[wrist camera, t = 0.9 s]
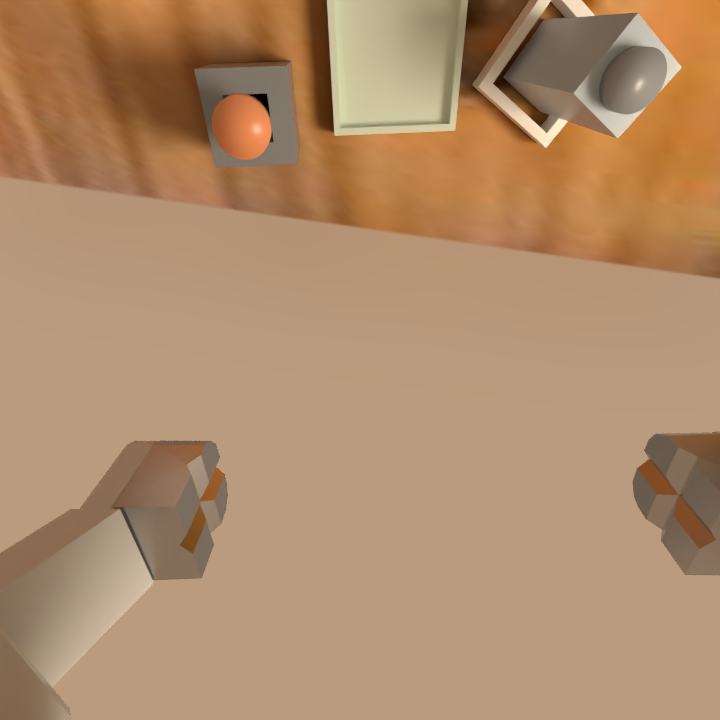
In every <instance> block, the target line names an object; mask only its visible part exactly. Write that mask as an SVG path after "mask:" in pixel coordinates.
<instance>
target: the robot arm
mask: <svg viewBox="0 0 720 720" xmlns="http://www.w3.org/2000/svg"><path fill="white" fill-rule="evenodd" d="M644 451H645V452H646V454H647V456H648V458H649V460H647V461H646V462H645V463H643V464H642V465H641V466H639V467H638V468H637V470H636V473H635V476H634V479H633V491H634V497H635V500H636V502H637V505H638V507H639V509H640V510H641V512H642V513H643V515H644V516H645V518H646V519H647V520H648V521H650V522H652V523H653V524H655V525H656V526H658V527H659V528H661V529H662V536H661V541H662V542H663V544H664V545H665V547H666V548H667V549H668V551H669V552H670V554H671V555H672V557H673V558H674V560H675V561H676V562H677V564H678V565H679V567H680V568H681V570H682V571H683V572H684V574H685V575H720V432H712V433H709V432H705V433H666V434H664V433H663V434H655V435H654V436H653V437H651V438H650V439H649V441H648V443H647V445H646V448H645V450H644ZM219 458H220V456H219V453H218V449H217V446H216V444H215V443H213V442H212V441H134V442H132V443H130V444H128V445H127V446H126V447H125V448H124V449H123V451H122V452H121V454H120V455H119V456H118V457H117V459H116V460H115V462H114V463H113V464H112V466H111V467H110V468H109V470H108V471H107V472H106V474H105V475H104V476H103V478H102V479H101V481H100V482H99V483H98V485H97V486H96V487H95V489H94V490H93V491H92V493H91V494H90V496H89V497H88V498H87V500H86V501H85V502H84V504H83V505H82V506H81V508H80V509H70V510H69V511H67V512H66V513H64V514H62V515H61V516H59V517H58V518H56V519H54V520H53V521H51V522H49V523H48V524H46V525H45V526H43V527H41V528H40V529H38V530H37V531H35V532H34V533H32V534H30V535H29V536H27V537H25V538H24V539H22V540H21V541H19V542H17V543H16V544H14V545H13V546H11V547H9V548H8V549H6V550H5V551H3V552H1V553H0V720H71V718H72V717H71V713H70V709H69V707H68V706H67V704H66V703H65V702H64V701H63V700H62V699H61V697H60V696H59V695H58V694H57V693H56V691H55V690H54V689H53V688H52V687H53V686H54V685H55V683H57V682H58V680H60V679H61V677H63V675H64V674H65V673H66V672H67V671H68V670H69V669H70V668H71V667H72V666H73V665H74V664H75V663H76V662H77V661H78V660H79V659H80V658H81V657H82V656H83V655H84V654H85V653H86V652H87V651H88V650H89V649H90V648H91V647H92V646H93V645H94V644H95V643H96V642H97V641H98V639H100V638H101V636H102V635H103V634H104V633H105V632H106V631H107V630H108V629H109V628H110V627H111V626H112V625H113V624H114V623H115V622H116V621H117V620H118V619H119V618H120V617H121V616H122V615H123V614H124V613H125V612H126V611H127V610H128V609H129V608H130V607H131V606H132V605H133V604H134V602H136V601H137V600H138V598H139V597H141V595H142V594H143V593H144V592H145V591H146V590H147V589H148V588H149V587H150V586H151V585H152V584H153V583H154V582H153V580H167V579H195V578H202V576H203V573H204V570H205V567H206V565H207V562H208V559H209V556H210V554H211V551H212V548H213V545H214V544H213V541H212V537H211V534H210V533H211V532H212V531H214V530H215V529H216V528H217V527H218V526H219V525H220V524H221V523H222V520H223V517H224V514H225V511H226V504H227V496H228V493H227V482H226V478H225V474H224V473H222V472H221V471H220V470H219V469H218V468H216V465H217V463H218V460H219Z"/></svg>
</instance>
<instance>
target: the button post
mask: <svg viewBox="0 0 720 720" xmlns="http://www.w3.org/2000/svg"><path fill="white" fill-rule="evenodd" d="M194 72H195V77H196V81H197V86H198V90H199V95H200V99H201V104H202V109H203V113H204V118H205V122H206V127H207V131H208V136H209V141H210V145H211V150H212V154H213V159H214V163H215V168H217V167H238V166H260V165H282V164H297V161H298V154H299V148H300V145H299V135H298V125H297V116H296V106H295V96H294V86H293V76H292V67H291V61H284V62H255V63H226V64H210V65H207V66H203V67H199V68H196V69H194ZM236 93H243V94H267V96H268V104H269V111H270V119H271V123H272V135H271V139H270V142H269V144H268V146H267V148H266V149H265V151H264V152H263V153H262V154H261V155H260V156H258V157H256V158H254V159H250V160H241V159H237V158H234V157H232V156H230V155H229V154H227V153H226V152H225V151H224V150H223V149H222V148H221V147H220V146H219V144H218V143H217V141H216V139H215V137H214V134H213V131H212V115H213V112H214V109H215V107H216V106H217V105H218V103H219V102H220V101H221V100H223V99H224V98H226V97H227V96H229V95H231V94H236Z"/></svg>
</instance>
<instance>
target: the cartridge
mask: <svg viewBox="0 0 720 720" xmlns="http://www.w3.org/2000/svg"><path fill="white" fill-rule="evenodd" d="M681 68H682V67H681V66H680V65H679V63H678V62H677V61H676V60H675V58H674V57H673V56H672V55H671V53H670V52H669V51H668V50H667V48H666V47H665V46H664V45H663V43H662V42H661V41H660V40H659V38H658V37H657V36H656V35H655V33H654V32H653V31H652V30H651V28H650V27H649V26H648V25H647V23H646V22H645V21H644V20H643V18H642V17H641V16H640V15H639V13H628V14H614V15H599V16H585V17H571V18H556V19H544V20H543V21H542V23H541V24H540V25H539V27H538V28H537V30H536V31H535V33H534V34H533V35H532V37H531V38H530V40H529V41H528V42H527V44H526V45H525V47H524V48H523V49H522V51H521V52H520V54H519V55H518V57H517V58H516V59H515V61H514V62H513V64H512V65H511V66H510V68H509V69H508V71H507V72H506V73H505V75H504V76H503V78H504V79H505V80H506V81H507V82H508V83H509V84H511V85H512V86H513V87H514V88H515V89H516V90H517V91H518V92H519V93H520V94H521V95H522V96H523V97H524V98H525V99H526V100H528V101H529V102H530V103H531V104H532V105H533V106H534V107H535V108H536V109H537V110H538V111H540V112H543V113H545V114H548V115H551V116H554V117H557V118H560V119H563V120H566V121H569V122H572V123H575V124H577V125H580V126H583V127H586V128H589V129H592V130H595V131H598V132H601V133H604V134H606V135H609V136H612V137H615V138H619V137H620V136H621V134H622V133H623V132H624V131H625V130H626V129H627V128H628V127H629V126H630V124H631V123H632V122H633V121H634V120H635V119H636V118H637V117H638V116H639V114H640V113H641V112H642V111H643V110H644V109H645V108H646V107H647V106H648V105H649V104H650V103H651V102H652V101H653V100H654V99H655V97H656V96H657V95H658V93H659V92H660V91H661V90H662V89H663V88H664V87H665V85H666V84H667V83H668V82H669V81H670V80H671V79H672V78H673V77H674V75H675V74H676V73H677V72H678V71H679V70H680V69H681Z"/></svg>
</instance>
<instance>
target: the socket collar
mask: <svg viewBox="0 0 720 720" xmlns="http://www.w3.org/2000/svg"><path fill="white" fill-rule="evenodd" d="M550 2H552V3H553V4H554V6H555V7H556V8H557V9H558V10H559V11H560V12H561V13H562V14H563V16H564V17H565V18H571V17H585V16H595V15H594V14H593V13H592V12H591V11H590V10H589V8H588V7H587V6H586V5H585V4H584V3H583V1H582V0H529V2H528V3H527V4H526V6H525V7H524V9H523V10H522V12H521V13H520V15H519V16H518V18H517V19H516V21H515V22H514V24H513V25H512V27H511V28H510V29H509V31H508V32H507V34H506V35H505V37H504V38H503V40H502V41H501V43H500V44H499V46H498V47H497V49H496V50H495V52H494V53H493V54H492V56H491V57H490V59H489V60H488V62H487V63H486V65H485V66H484V68H483V69H482V71H481V72H480V74H479V75H478V77H477V78H476V79H475V81H474V82H473V84H472V86H474V87H475V88H476V89H477V90H478V91H479V92H480V93H481V94H483V95H484V96H485V97H486V98H487V99H488V100H489V101H490V102H491V103H493V104H494V105H495V106H496V107H497V108H498V109H499V110H500V111H502V112H503V113H504V114H505V115H506V116H507V117H508V118H509V119H510V120H512V121H513V122H514V123H515V124H516V125H517V126H518V127H519V128H520V129H522V130H523V131H524V132H525V133H526V134H527V135H528V136H529V137H531V138H532V139H533V140H534V141H535V142H536V143H537V144H539V145H541V146H543V147H545V148H546V147H547V146H548V145H549V144H550V142H551V141H552V140H553V139H554V137H555V136H556V135H557V134H558V133H559V131H560V130H561V129H562V128H563V126H564V125H565V124H566V123H567V122H568V121H566V120H563V119H560V118H557V117H554V116H551V115H549V116H548V118H547V119H546V120H545V121H544V123H543V124H542V125H541V126H540V127H539V126H538V125H537V124H536V123H535V122H534V121H533V120H532V119H531V118H530V117H529V116H528V115H526V114H525V113H524V112H523V111H522V110H521V109H520V108H519V107H518V106H517V105H516V104H515V103H513V102H512V101H511V100H510V99H509V98H508V97H507V96H506V95H505V94H504V93H503V92H501V91H500V90H499V89H498V88H497V87H496V86H495V85H494V84H493V83H494V81H495V80H496V78H497V77H498V76H499V74H500V73H501V71H502V70H503V68H504V67H505V66H506V64H507V63H508V61H509V60H510V58H511V57H512V56H513V54H514V53H515V51H516V50H517V48H518V47H519V46H520V44H521V43H522V41H523V40H524V39H525V37H526V36H527V34H528V33H529V31H530V30H531V29H532V27H533V26H534V24H535V23H536V21H537V20H538V19H539V17H540V16H541V14H542V13H543V11H544V10H545V9H546V7H547V6H548V4H549V3H550Z"/></svg>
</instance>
